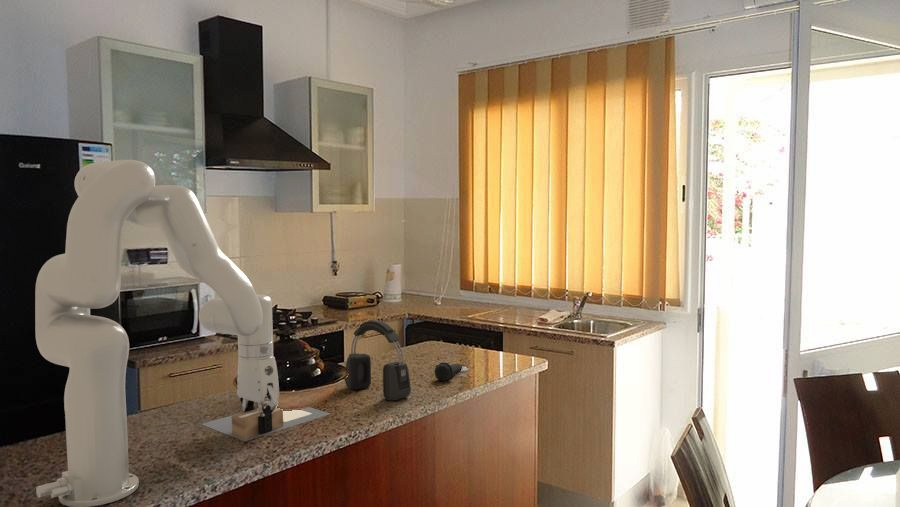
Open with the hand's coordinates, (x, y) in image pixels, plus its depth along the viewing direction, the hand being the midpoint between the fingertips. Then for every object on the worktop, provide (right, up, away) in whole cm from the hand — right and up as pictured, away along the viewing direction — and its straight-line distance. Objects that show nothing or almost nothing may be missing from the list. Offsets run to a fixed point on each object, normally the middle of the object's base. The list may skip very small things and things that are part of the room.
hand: (258, 428), depth 147 cm
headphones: (+23, +1, +31) cm, 39 cm away
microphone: (+44, +2, +50) cm, 67 cm away
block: (0, 0, 0) cm, 0 cm away
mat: (0, 0, +8) cm, 8 cm away
